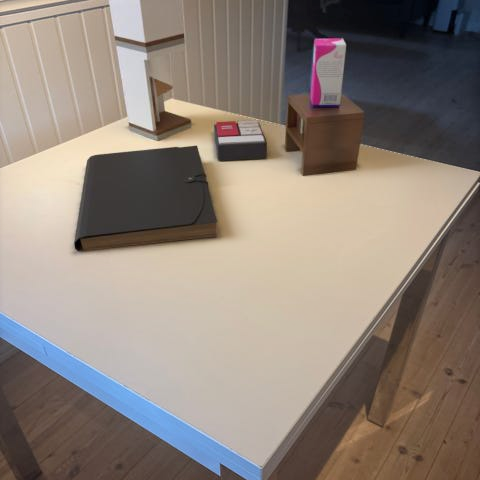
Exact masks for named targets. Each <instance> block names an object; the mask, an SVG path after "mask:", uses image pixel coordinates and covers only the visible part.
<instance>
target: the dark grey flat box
mask: <svg viewBox="0 0 480 480" xmlns="http://www.w3.org/2000/svg"><path fill="white" fill-rule="evenodd" d="M213 133H214V141H215V148H216V156H217V161H219V162H221V161H223V162H224V161H240V160H241V161H242V160H243V161H244V160H262V159H267V153H268V142H267V139H266V137H265V134H264V132H263V128H262V126H261V124H260V122H259V120H256V119H255V120H254V119H253V120H252V119H250V120H238V121H237V122H236V121H235V120H233V121H231V120H230V121H216V122H215V123H214V124H213Z"/></svg>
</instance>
